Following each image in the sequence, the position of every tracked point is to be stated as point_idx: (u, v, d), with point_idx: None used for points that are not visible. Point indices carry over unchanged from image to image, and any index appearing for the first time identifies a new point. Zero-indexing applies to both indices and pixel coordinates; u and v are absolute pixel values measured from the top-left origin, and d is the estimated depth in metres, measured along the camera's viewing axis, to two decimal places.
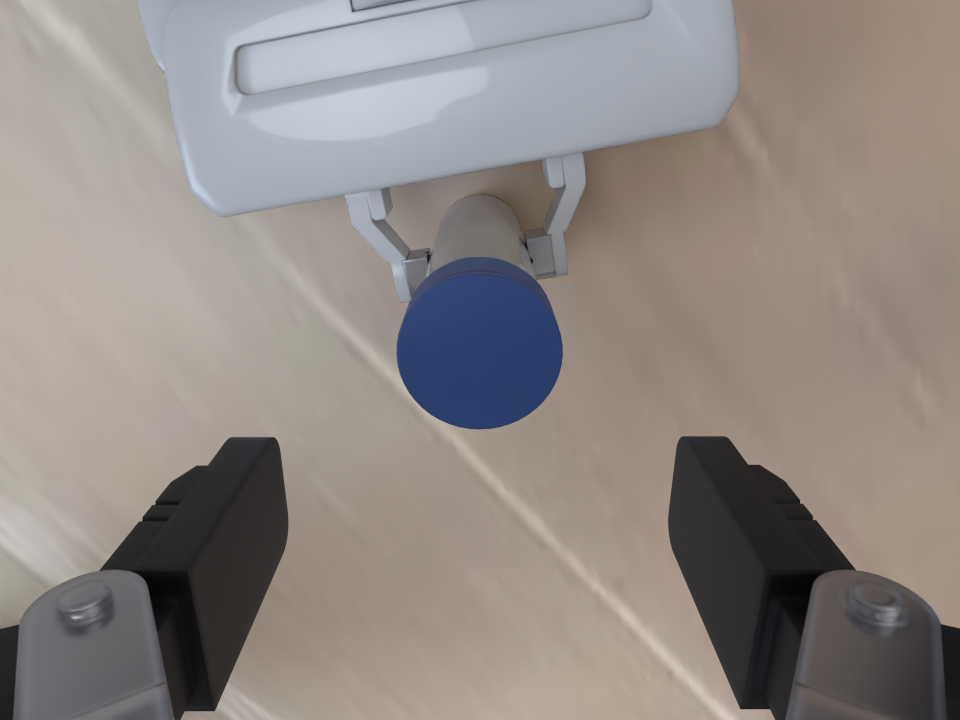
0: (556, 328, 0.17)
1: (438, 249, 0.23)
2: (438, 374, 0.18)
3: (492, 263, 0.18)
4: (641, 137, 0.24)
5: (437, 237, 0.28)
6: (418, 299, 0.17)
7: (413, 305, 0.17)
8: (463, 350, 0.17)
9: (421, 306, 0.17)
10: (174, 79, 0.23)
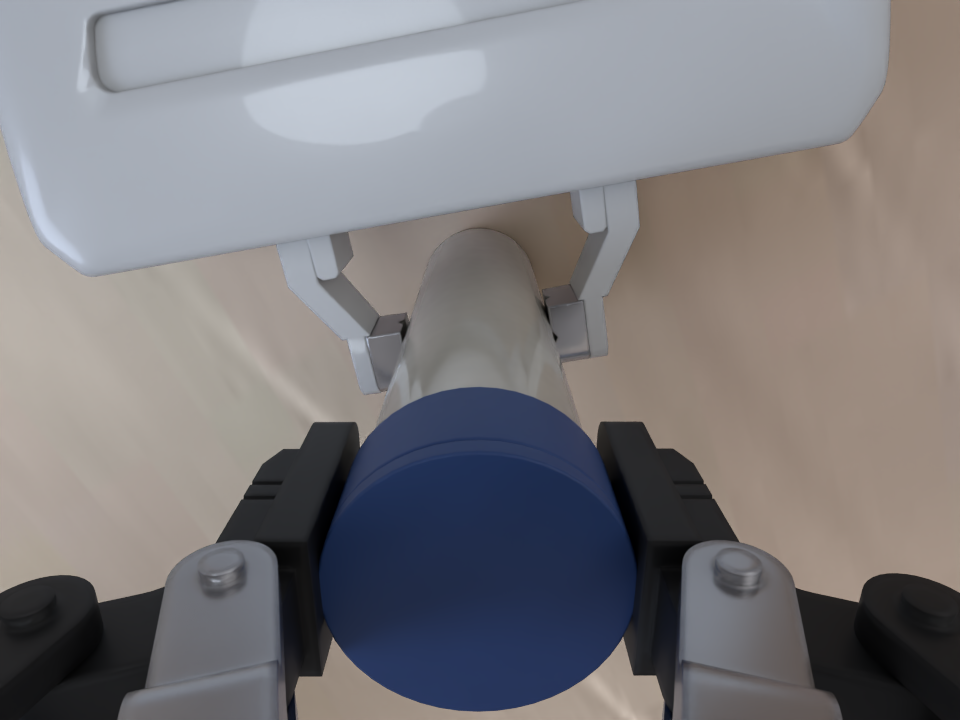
0: (628, 548, 0.09)
1: (414, 334, 0.15)
2: (399, 625, 0.09)
3: (502, 409, 0.09)
4: (728, 158, 0.15)
5: (417, 298, 0.19)
6: (356, 495, 0.09)
7: (346, 507, 0.09)
8: (447, 584, 0.09)
9: (363, 509, 0.09)
10: None
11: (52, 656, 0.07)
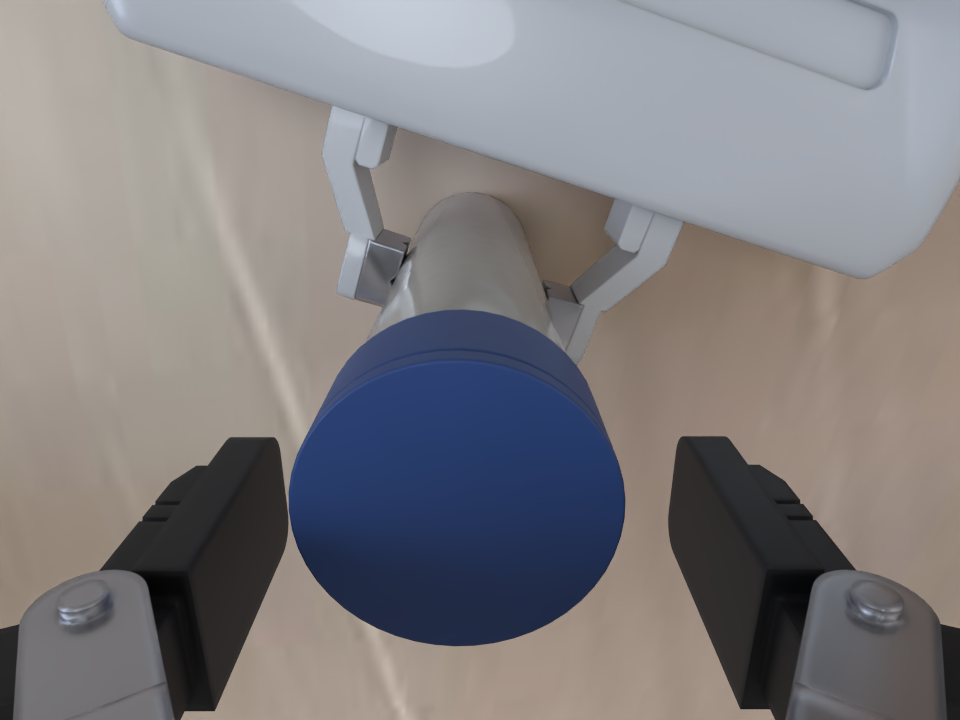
0: (531, 380, 0.08)
1: (436, 255, 0.14)
2: (427, 587, 0.09)
3: (368, 351, 0.09)
4: (770, 244, 0.16)
5: (429, 230, 0.19)
6: (291, 512, 0.09)
7: (292, 527, 0.09)
8: (426, 528, 0.09)
9: (303, 519, 0.09)
10: None
11: None
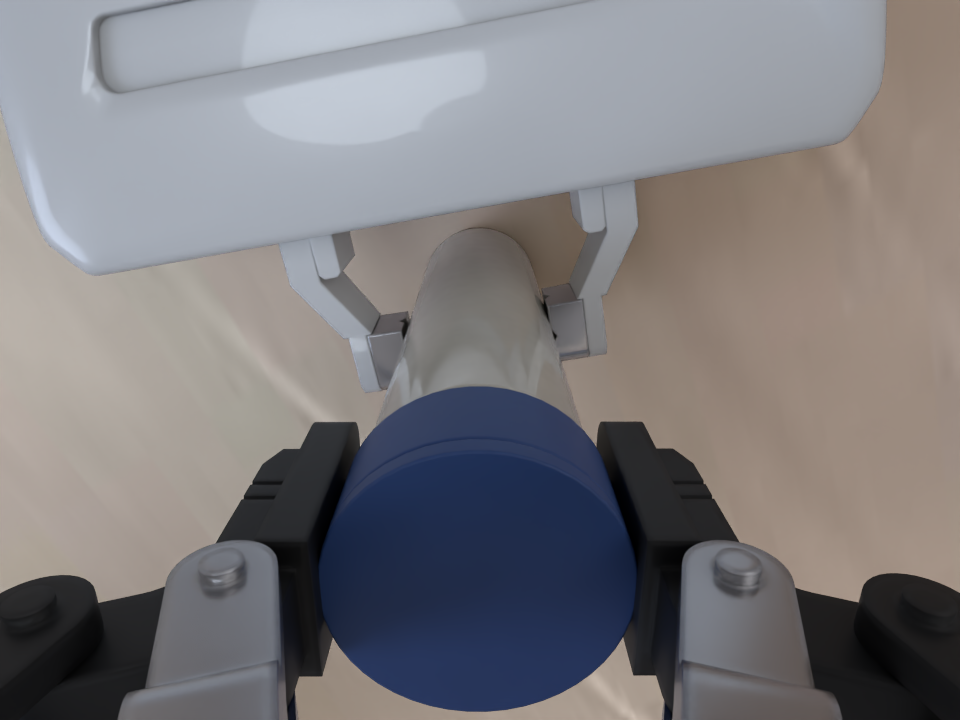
0: (471, 456, 0.08)
1: (414, 332, 0.15)
2: (488, 661, 0.09)
3: (347, 478, 0.10)
4: (727, 159, 0.16)
5: (418, 297, 0.19)
6: (342, 645, 0.09)
7: (349, 657, 0.09)
8: (457, 613, 0.09)
9: (353, 648, 0.09)
10: (2, 69, 0.15)
11: (53, 655, 0.07)
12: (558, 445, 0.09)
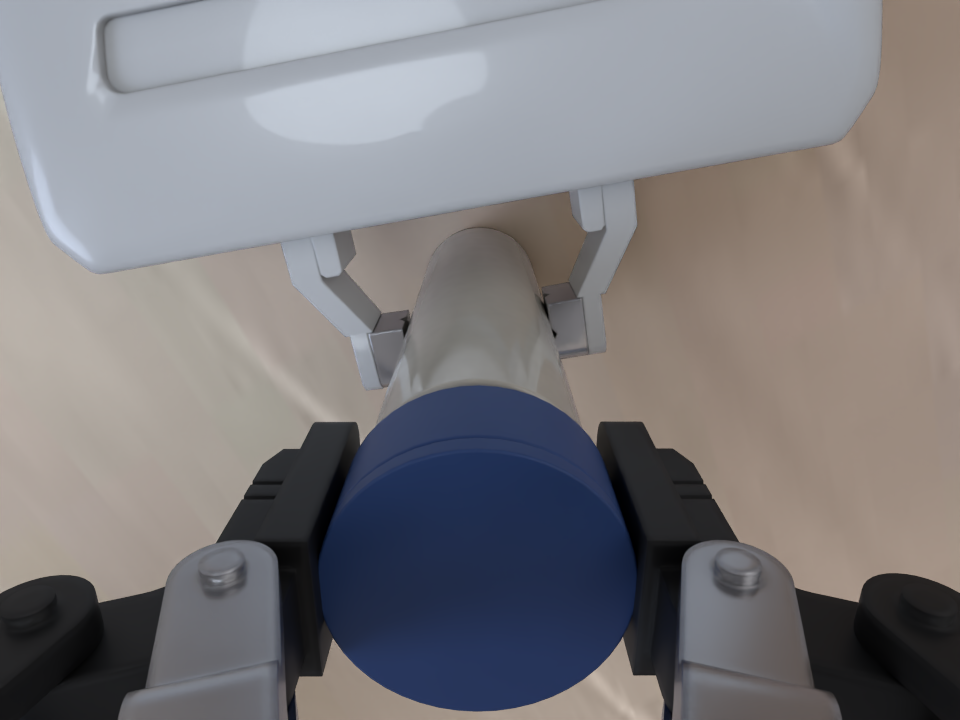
0: (322, 556, 0.09)
1: (415, 329, 0.15)
2: (564, 606, 0.09)
3: None
4: (724, 158, 0.16)
5: (419, 295, 0.19)
6: (498, 706, 0.10)
7: (512, 707, 0.10)
8: (494, 614, 0.09)
9: (501, 702, 0.10)
10: (8, 69, 0.15)
11: (53, 656, 0.07)
12: (373, 459, 0.09)
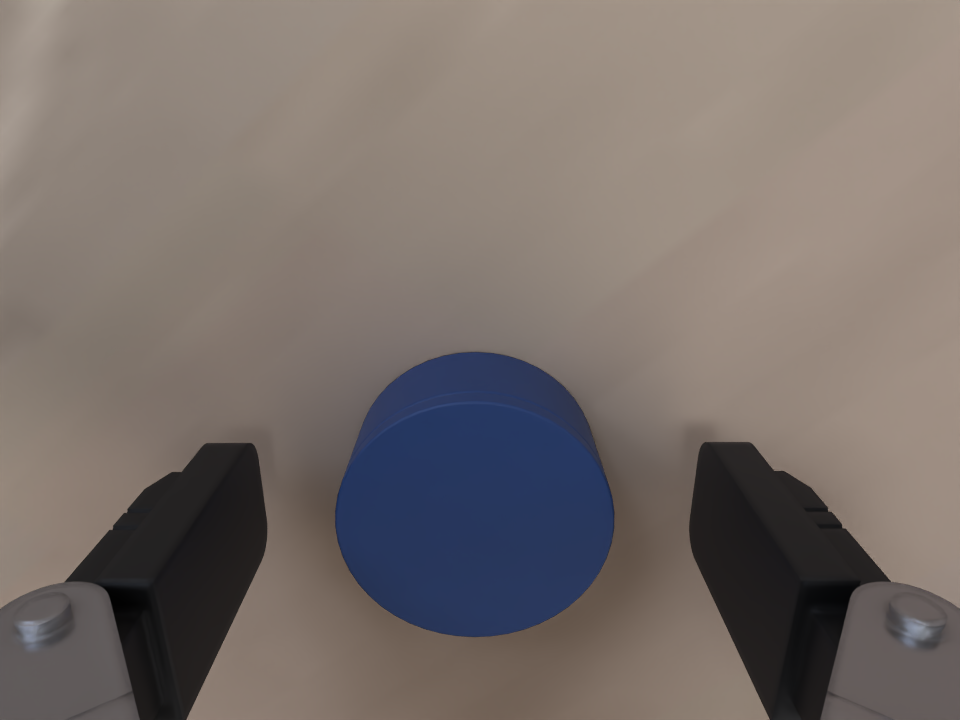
0: (341, 496, 0.10)
1: None
2: (550, 541, 0.10)
3: None
4: None
5: None
6: (493, 632, 0.11)
7: (505, 633, 0.11)
8: (490, 548, 0.11)
9: (495, 628, 0.11)
10: None
11: None
12: (384, 413, 0.10)
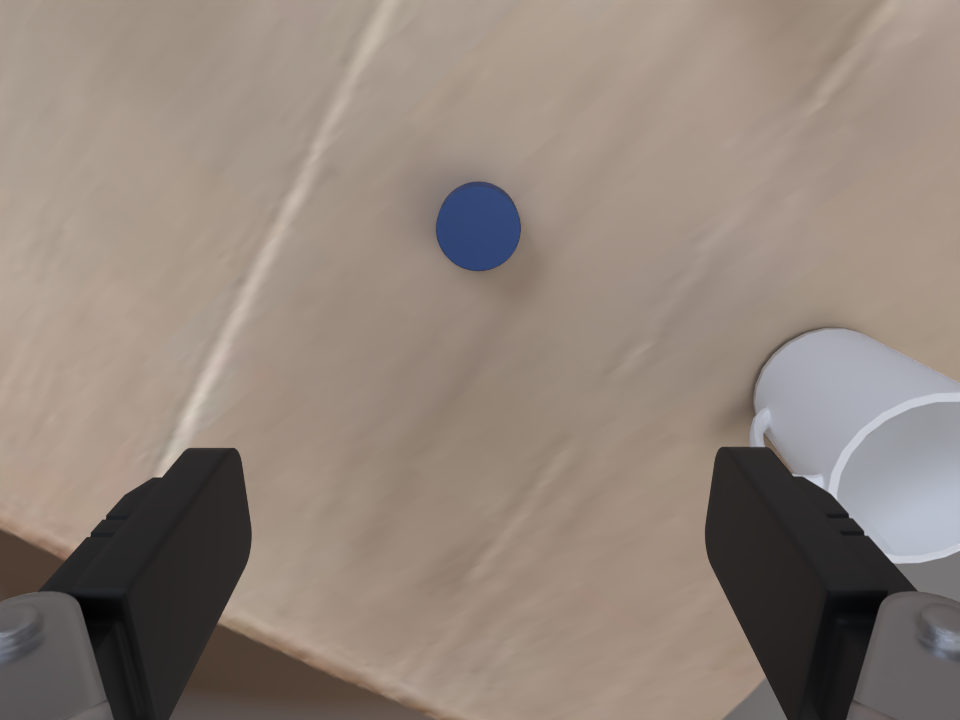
0: (438, 217, 0.34)
1: None
2: (501, 234, 0.35)
3: None
4: None
5: None
6: (484, 269, 0.35)
7: (488, 269, 0.35)
8: (483, 236, 0.35)
9: (484, 267, 0.35)
10: None
11: None
12: (451, 195, 0.35)
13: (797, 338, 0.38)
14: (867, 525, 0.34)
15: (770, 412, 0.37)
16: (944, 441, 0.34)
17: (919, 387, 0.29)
